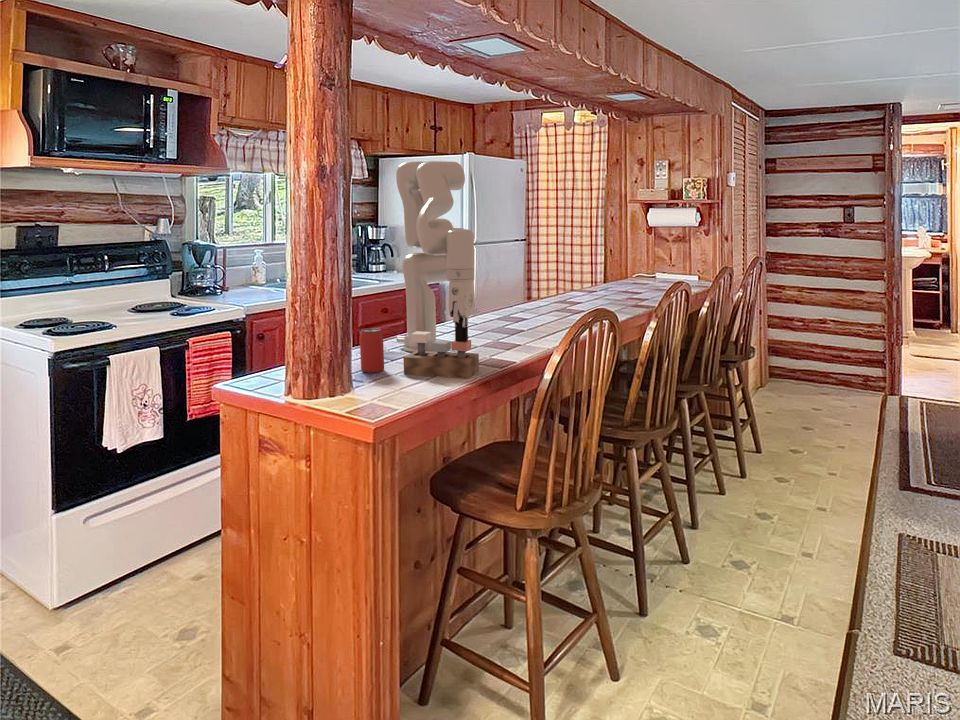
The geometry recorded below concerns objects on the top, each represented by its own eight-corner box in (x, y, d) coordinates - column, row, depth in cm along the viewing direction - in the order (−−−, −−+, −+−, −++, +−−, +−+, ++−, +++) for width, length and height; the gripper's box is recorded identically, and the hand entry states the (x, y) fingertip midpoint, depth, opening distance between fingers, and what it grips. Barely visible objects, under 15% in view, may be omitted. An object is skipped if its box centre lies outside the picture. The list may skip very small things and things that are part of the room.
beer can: (356, 371, 207) (354, 329, 204) (375, 367, 211) (373, 327, 209) (370, 374, 202) (368, 332, 200) (388, 370, 207) (387, 329, 204)
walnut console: (403, 374, 202) (403, 357, 201) (417, 367, 211) (416, 350, 210) (468, 378, 196) (468, 360, 195) (478, 370, 206) (478, 353, 205)
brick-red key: (451, 368, 200) (451, 342, 199) (456, 364, 204) (456, 339, 203) (466, 368, 199) (466, 342, 197) (471, 365, 203) (471, 339, 202)
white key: (411, 359, 203) (410, 333, 202) (417, 356, 207) (416, 331, 206) (426, 360, 202) (425, 334, 200) (431, 357, 206) (431, 331, 205)
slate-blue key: (431, 368, 202) (431, 343, 201) (437, 365, 206) (436, 340, 205) (446, 369, 201) (445, 343, 199) (451, 366, 205) (451, 341, 203)
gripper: (465, 277, 188) (466, 346, 192) (481, 273, 202) (482, 337, 206) (438, 277, 190) (439, 345, 194) (456, 272, 204) (457, 336, 208)
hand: (461, 341), depth 200 cm, fingers closed
